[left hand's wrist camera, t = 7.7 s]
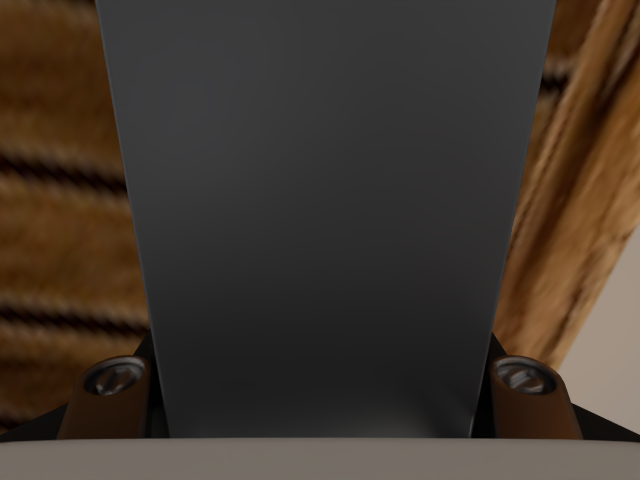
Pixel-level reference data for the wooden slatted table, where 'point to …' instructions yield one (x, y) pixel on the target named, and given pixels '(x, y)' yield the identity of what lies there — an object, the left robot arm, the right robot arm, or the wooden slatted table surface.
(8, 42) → the wooden slatted table surface
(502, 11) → the post
